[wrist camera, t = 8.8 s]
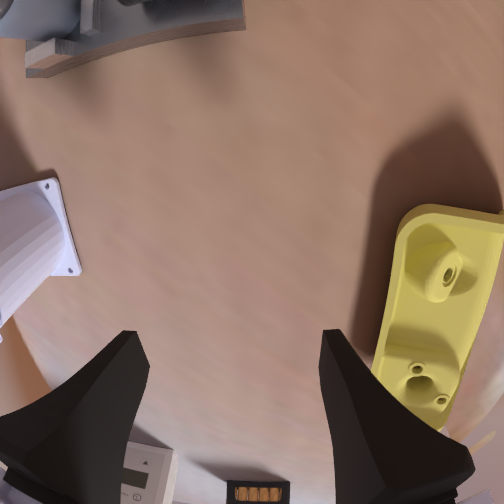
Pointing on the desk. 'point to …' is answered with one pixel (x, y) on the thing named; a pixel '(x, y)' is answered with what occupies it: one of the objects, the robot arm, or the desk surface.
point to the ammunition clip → (270, 493)
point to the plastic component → (436, 305)
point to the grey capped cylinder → (38, 19)
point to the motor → (129, 30)
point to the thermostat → (148, 474)
